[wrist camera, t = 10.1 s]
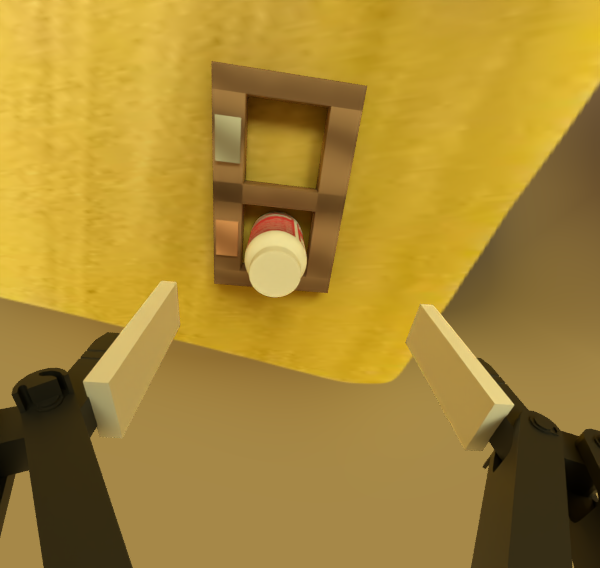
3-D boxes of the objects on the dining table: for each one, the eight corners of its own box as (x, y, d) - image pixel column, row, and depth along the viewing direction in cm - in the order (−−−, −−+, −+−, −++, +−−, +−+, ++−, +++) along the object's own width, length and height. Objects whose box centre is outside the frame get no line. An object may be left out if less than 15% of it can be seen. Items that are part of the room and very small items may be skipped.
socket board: (217, 66, 28) (210, 60, 25) (360, 89, 29) (368, 85, 27) (218, 274, 38) (213, 285, 35) (324, 283, 39) (327, 294, 37)
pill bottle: (240, 233, 36) (225, 274, 26) (277, 199, 34) (275, 227, 24) (276, 267, 38) (274, 316, 28) (312, 236, 36) (323, 277, 26)
